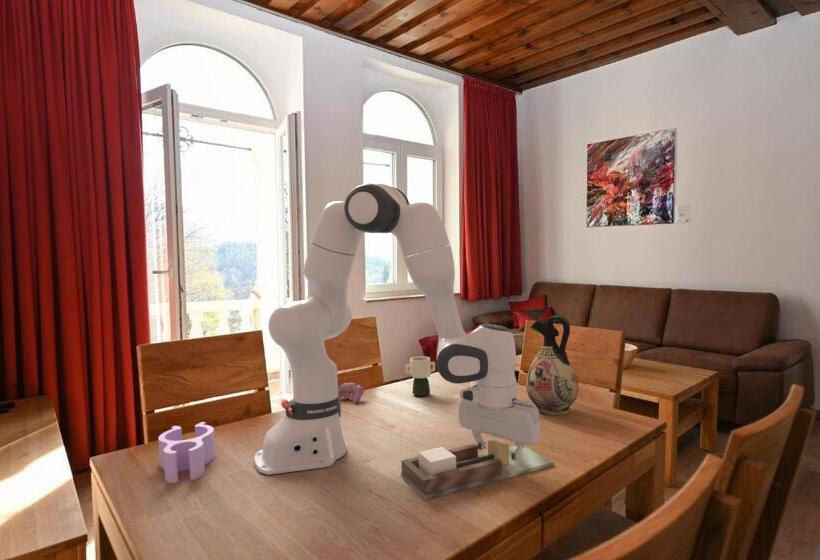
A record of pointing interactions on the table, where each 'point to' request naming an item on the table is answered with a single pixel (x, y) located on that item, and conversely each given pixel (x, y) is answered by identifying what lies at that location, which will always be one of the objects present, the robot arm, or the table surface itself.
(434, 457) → the block plunger with rod
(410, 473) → the shelf lane
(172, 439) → the clip
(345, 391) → the video game controller
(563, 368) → the ceramic jug
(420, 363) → the cream green tall piece
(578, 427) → the table surface
